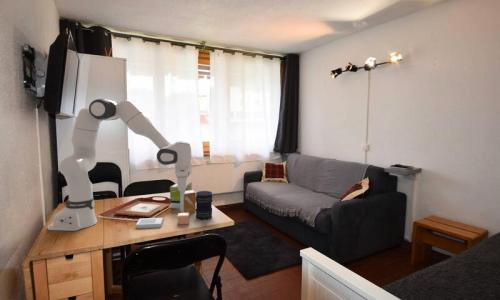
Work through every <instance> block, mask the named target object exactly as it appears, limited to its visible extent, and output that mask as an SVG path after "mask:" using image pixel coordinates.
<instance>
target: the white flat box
mask: <svg viewBox="0 0 500 300" xmlns="http://www.w3.org/2000/svg"><path fill="white" fill-rule="evenodd" d="M163 224H164V217H149V218H148V217H147V218H144V217H143V218H139V219H138V221H137V222H136V224H135V229H149V228H151V229H152V228H162V226H163Z"/></svg>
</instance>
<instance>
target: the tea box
mask: <svg viewBox="0 0 500 300" xmlns="http://www.w3.org/2000/svg"><path fill="white" fill-rule="evenodd" d="M189 190H193V187H192V181H187V186H186V190H185V191H189ZM169 200H170V203H169V204H170V209H180V191H179V190H178V183H177V182H176V183H174V184H173V185H171V186H169Z"/></svg>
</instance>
